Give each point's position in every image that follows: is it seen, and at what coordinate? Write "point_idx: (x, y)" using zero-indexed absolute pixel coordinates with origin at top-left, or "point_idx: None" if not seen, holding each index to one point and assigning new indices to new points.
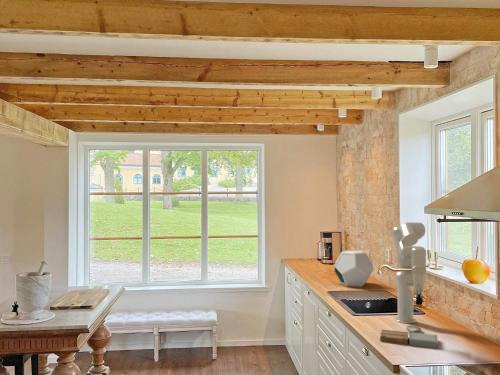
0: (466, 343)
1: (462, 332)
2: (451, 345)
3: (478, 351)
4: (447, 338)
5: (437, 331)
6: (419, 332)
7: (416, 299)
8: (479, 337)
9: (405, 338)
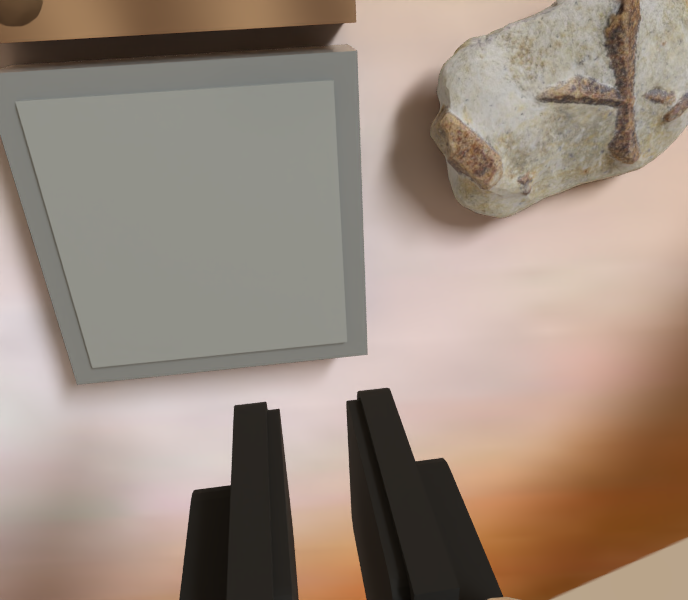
0: None
1: (666, 480)
2: None
3: None
4: (459, 398)
5: (668, 309)
6: (454, 167)
7: (229, 537)
8: (554, 573)
9: (15, 10)
